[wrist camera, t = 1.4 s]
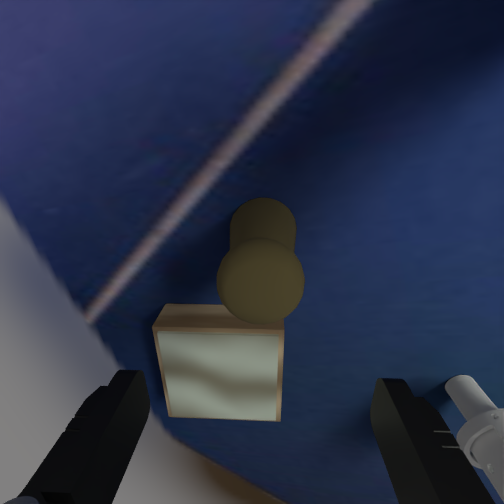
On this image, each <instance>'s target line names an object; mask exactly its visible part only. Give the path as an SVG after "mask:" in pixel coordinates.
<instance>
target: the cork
mask: <svg viewBox="0 0 504 504" xmlns="http://www.w3.org/2000/svg"><path fill="white" fill-rule="evenodd" d="M296 229H297V227H296V222H295V218H294V216H293V215H292V213H291V211H290V210H289V208H287V207H286V206H285V205H284V204H282V203H281V202H279V201H277V200H274V199H271V198H256V199H252V200H249V201H247V202H246V203H244V204H242V205H241V206H240V207H239V208H238V209H237V210H236V212H235V213H234V214H233V217H232V220H231V223H230V250H229V252H228V253H227V254H226V255H225V256H224V257H223V259H222V261H221V264H220V267H219V269H218V272H217V291H218V294H219V297H220V299H221V302H222V303H223V305H224V306H225V307H226V308H227V310H228V311H229V312H230V313H231V314H233V315H234V316H236V317H237V318H239V319H240V320H242V321H245V322H248V323H251V324H262V325H264V324H270V323H275V322H277V321H279V320H281V319H283V318H285V317H286V316H288V315H289V314H290V313H291V312H292V311H293V310H294V309H295V308H296V307H297V305H298V304H299V302H300V300H301V298H302V295H303V291H304V283H305V278H304V274H303V269H302V266H301V263H300V261H299V260H298V258H297V257H296V255H295V254H294V248H295V239H296Z"/></svg>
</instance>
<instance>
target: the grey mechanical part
mask: <svg viewBox="0 0 504 504" xmlns="http://www.w3.org/2000/svg"><path fill="white" fill-rule="evenodd" d="M445 390H446V391H447V393H448V394H449V396H450V397H451V398H452V400H453V401H454V403H455V404H456V406H457V407H458V409H459V410H460V411H461V413H462V414H463V416H464V417H465V419H466V420H467V422H466V423H465V424H464V425H463V426H462V427H461V429H460V430H459V432H458V434H457V442H458V444H459V446H460V449H461V450H463V452H464V454H465V455H466V457H467V459H468V460H469V462H470V463H471V464H472V465H473V466H475V467H477V468H480V469H483V471H484V472H485V474H486V475H487V477H488V478H489V480H490V482H491V483H492V485H493V486H494V488H495V489H496V491H497V493H498V494H499V496H500V497H501V499H502V500H503V502H504V409H498V408H497V407H496V406H495V405H494V403H493V402H492V401H491V400H490V399H489V398H488V396H487V395H486V394H485V393H484V392H483V390H482V389H481V388H480V387H479V386H478V384H477V383H476V382H475V381H474V379H473V378H472V377H470V376H467V375H458V376H455V377H453V378H451V379H450V380H448V381H447V383H446V385H445ZM470 450H471V451H470Z"/></svg>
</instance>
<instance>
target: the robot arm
mask: <svg viewBox="0 0 504 504" xmlns="http://www.w3.org/2000/svg"><path fill="white" fill-rule="evenodd" d="M149 410H150V399H149V395H148V390H147V386H146V381H145V376H144V373H143V371H142V370H119V371H117V372H116V374H115V375H114V377H113V378H112V380H111V381H110V383H109V385H108V386H100V387H99V388H98V389H97V390H96V391H95V392H93V393H92V394H91V395H90V396H89V397H88V398H87V399H86V400H85V401H84V402H83V404H82V405H81V407H80V408H79V410H78V411H77V413H76V414H75V417H74V418H72V420H71V421H70V423H69V424H68V426H67V427H66V430H65V432H63V433H62V434H61V436H60V437H59V439H58V440H57V442H56V443H55V445H54V446H53V448H52V449H51V450H50V452H49V453H48V455H47V456H46V458H45V459H44V461H43V462H42V463H41V465H40V466H39V468H38V469H37V471H36V472H35V474H34V475H33V477H32V478H31V479H30V481H29V482H28V484H27V485H26V487H25V488H24V489H23V491H22V492H21V493H20V494H19V495H18V496H17V498H14V499H12V500H10V501H7V502H6V503H4V504H112V502H113V500H114V497H115V495H116V493H117V490H118V488H119V485H120V483H121V481H122V478H123V476H124V474H125V471H126V469H127V466H128V464H129V462H130V459H131V457H132V455H133V452H134V450H135V448H136V445H137V443H138V440H139V438H140V436H141V433H142V431H143V429H144V426H145V424H146V421H147V419H148V415H149ZM370 418H371V425H372V429H373V432H374V435H375V438H376V440H377V443H378V446H379V449H380V451H381V454H382V457H383V460H384V463H385V465H386V468H387V471H388V474H389V477H390V479H391V482H392V485H393V488H394V491H395V493H396V496H397V499H398V502H399V504H495V502H494V501H493V499H492V497H491V496H490V494H489V493H488V491H487V489H486V488H485V486H484V484H483V483H482V481H481V480H480V478H479V476H478V475H477V473H476V472H475V470H474V468H473V467H472V465H471V463H470V462H469V460H468V459H467V457H466V455H465V454H464V452H463V450H461V449H460V446H459V444H458V442H457V441H456V439H455V438H454V436H453V434H451V433H450V429H449V428H448V426H447V425H446V423H445V421H444V420H443V418H442V417H441V415H440V413H439V412H438V411H437V410H436V409H435V408H434V407H433V406H432V405H431V404H430V403H428V402H427V401H426V400H425V399H424V398H423V397H414V395H413V394H412V392H411V390H410V388H409V386H408V385H407V383H406V382H405V381H404V380H403V379H392V378H378V379H377V381H376V386H375V390H374V395H373V400H372V404H371V409H370Z"/></svg>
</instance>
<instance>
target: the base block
mask: <svg viewBox="0 0 504 504" xmlns="http://www.w3.org/2000/svg"><path fill="white" fill-rule="evenodd" d="M152 329H153V334H154V339H155V345H156V350H157V355H158V361H159V366H160V371H161V377H162V382H163V387H164V393H165V398H166V403H167V408H168V414H169V417H187V418H211V419H234V420H258V421H280V419H281V396H282V373H283V350H284V320H283V319H281V320H279V321H277V322H275V323H270V324H264V325H262V324H251V323H248V322H245V321H242V320H240V319H239V318H237V317H236V316H234V315H233V314H231V313H230V312H229V311H228V310H227V308H226V307H225V306H224V305H208V304H165V306H164V307H163V309H162V311H161V312H160V314H159V316H158V317H157V319H156V321H155V322H154V324H153V326H152Z"/></svg>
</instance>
